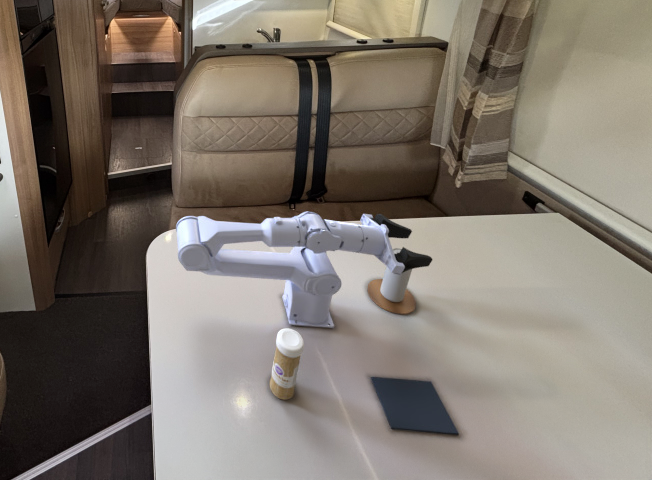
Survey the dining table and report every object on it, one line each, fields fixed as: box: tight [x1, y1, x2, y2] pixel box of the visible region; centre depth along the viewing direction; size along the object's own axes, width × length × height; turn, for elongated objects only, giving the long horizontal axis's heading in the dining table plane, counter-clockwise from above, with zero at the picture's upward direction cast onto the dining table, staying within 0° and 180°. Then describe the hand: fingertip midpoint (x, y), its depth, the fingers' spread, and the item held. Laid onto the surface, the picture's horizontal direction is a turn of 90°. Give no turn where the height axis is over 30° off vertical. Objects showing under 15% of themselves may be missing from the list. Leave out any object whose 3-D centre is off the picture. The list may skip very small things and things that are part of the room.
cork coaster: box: [366, 278, 417, 316], centre depth 100 cm, size 10×10×1 cm
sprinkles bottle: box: [269, 327, 305, 401], centre depth 78 cm, size 5×5×14 cm
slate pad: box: [370, 376, 460, 436], centre depth 77 cm, size 11×9×1 cm
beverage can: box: [380, 247, 413, 302], centre depth 97 cm, size 5×5×12 cm
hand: (419, 247), depth 88 cm, fingers open, 7 cm apart
